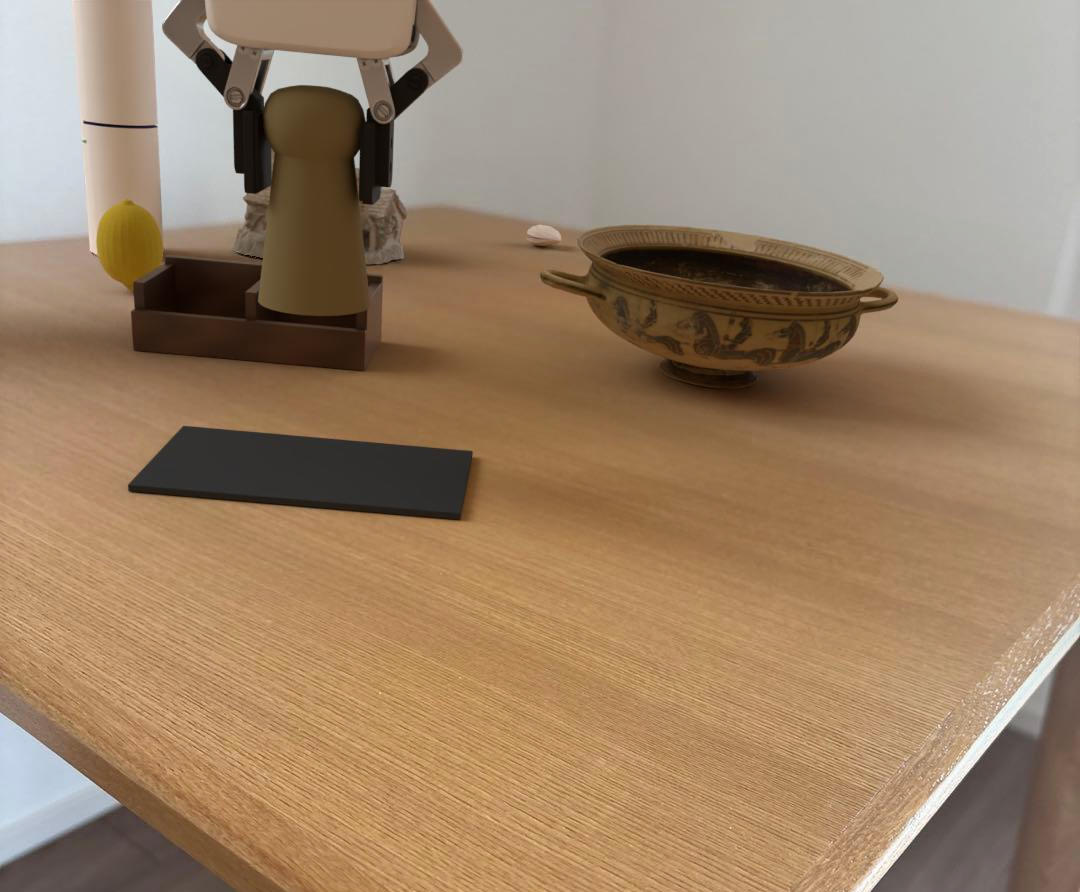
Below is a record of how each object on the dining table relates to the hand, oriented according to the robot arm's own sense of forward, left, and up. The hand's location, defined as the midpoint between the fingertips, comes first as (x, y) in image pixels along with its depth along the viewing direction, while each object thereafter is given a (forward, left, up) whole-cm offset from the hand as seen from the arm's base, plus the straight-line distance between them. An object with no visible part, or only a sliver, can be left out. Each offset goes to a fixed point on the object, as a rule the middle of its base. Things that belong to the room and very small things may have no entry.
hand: (314, 191), depth 59 cm
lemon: (-24, +40, -16) cm, 49 cm away
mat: (0, 0, -16) cm, 16 cm away
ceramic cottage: (-12, +65, -16) cm, 68 cm away
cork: (0, 0, -6) cm, 6 cm away
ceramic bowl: (+27, +29, -16) cm, 43 cm away
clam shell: (+13, +82, -16) cm, 85 cm away
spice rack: (-9, +26, -16) cm, 32 cm away
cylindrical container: (-30, +56, -16) cm, 66 cm away
